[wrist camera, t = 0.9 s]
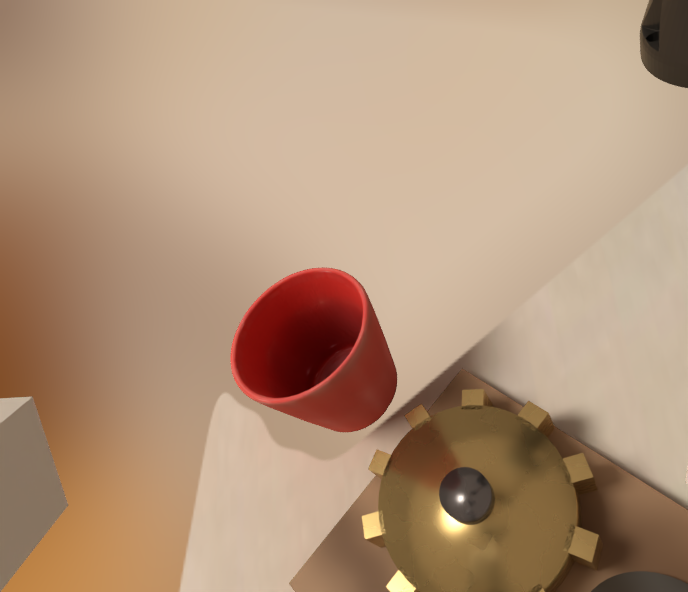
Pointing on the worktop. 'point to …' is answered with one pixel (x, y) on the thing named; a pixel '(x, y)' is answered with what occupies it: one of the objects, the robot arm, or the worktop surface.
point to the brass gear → (481, 502)
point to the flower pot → (316, 351)
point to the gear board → (596, 513)
